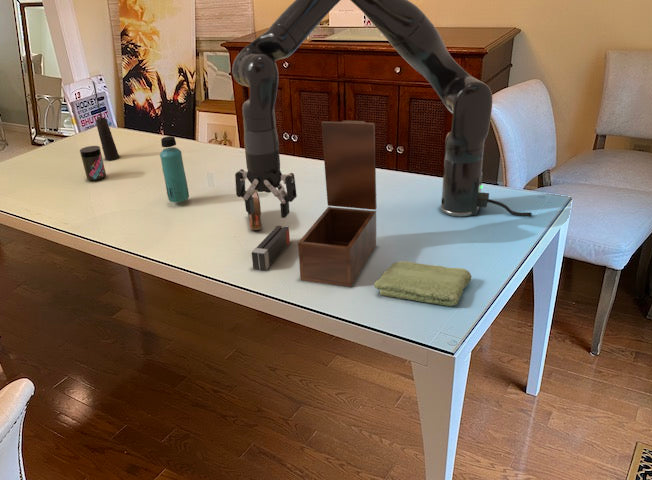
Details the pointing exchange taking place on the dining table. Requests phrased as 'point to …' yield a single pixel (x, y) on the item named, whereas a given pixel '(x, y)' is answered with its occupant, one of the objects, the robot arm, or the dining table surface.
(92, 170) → the supplement container
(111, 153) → the butter churn
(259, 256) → the dark grey long block
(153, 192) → the dining table surface
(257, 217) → the tin
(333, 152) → the lid
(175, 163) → the beverage bottle
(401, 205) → the dining table surface
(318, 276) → the chest
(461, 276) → the washcloth
